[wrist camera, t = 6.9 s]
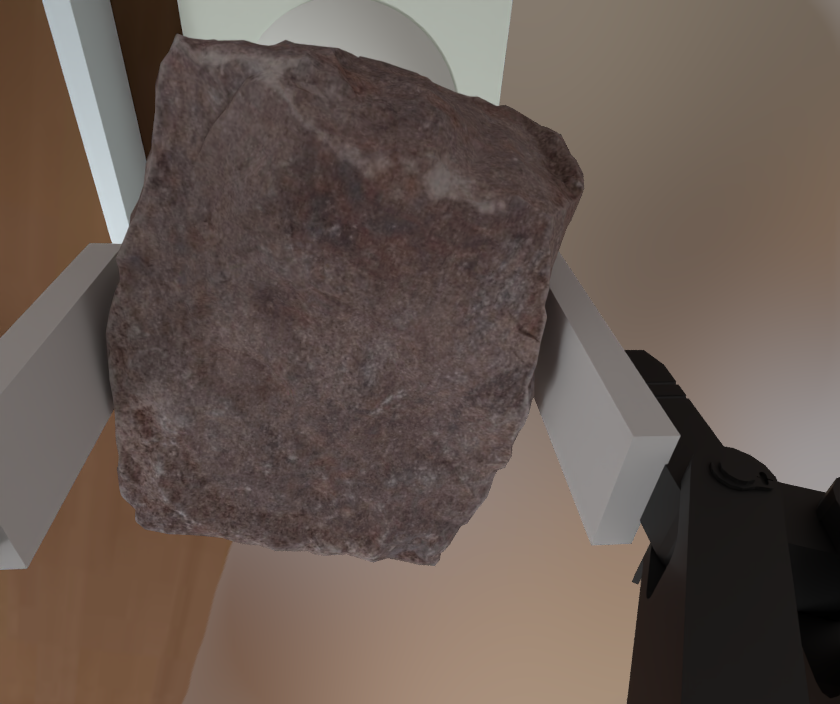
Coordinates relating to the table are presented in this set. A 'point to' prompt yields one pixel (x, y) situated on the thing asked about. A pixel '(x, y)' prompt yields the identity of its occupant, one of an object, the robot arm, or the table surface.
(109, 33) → the acrylic wall
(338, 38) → the rest mat
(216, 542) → the table surface
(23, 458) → the robot arm
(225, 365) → the stone
